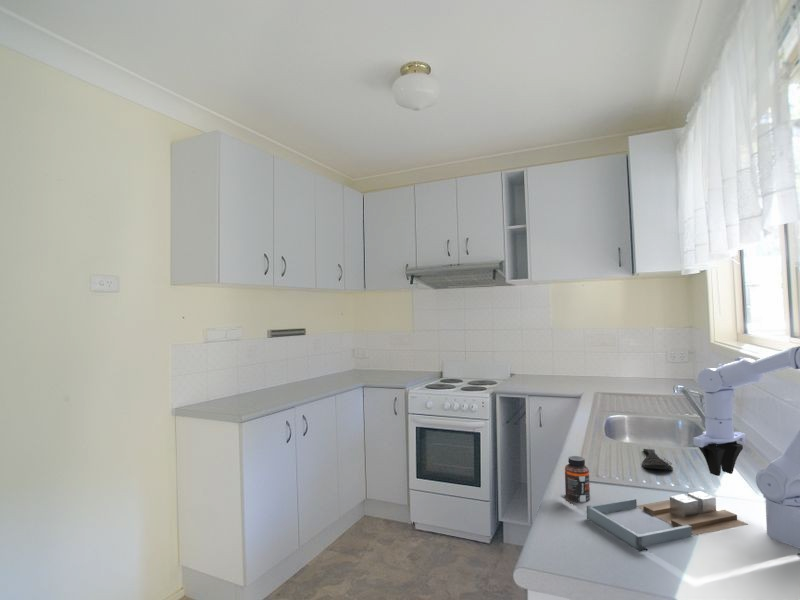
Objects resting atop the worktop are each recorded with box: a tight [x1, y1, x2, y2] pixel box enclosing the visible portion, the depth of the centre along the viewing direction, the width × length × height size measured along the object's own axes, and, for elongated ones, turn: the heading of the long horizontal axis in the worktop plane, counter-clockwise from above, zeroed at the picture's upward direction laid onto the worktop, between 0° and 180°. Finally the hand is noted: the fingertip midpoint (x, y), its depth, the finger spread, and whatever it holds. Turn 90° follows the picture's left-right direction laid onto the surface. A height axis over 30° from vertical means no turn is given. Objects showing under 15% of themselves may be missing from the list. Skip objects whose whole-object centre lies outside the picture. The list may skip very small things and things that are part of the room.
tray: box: [586, 497, 693, 553], centre depth 105 cm, size 16×14×3 cm
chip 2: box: [687, 490, 717, 515], centre depth 110 cm, size 4×4×4 cm
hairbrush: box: [641, 448, 674, 471], centre depth 150 cm, size 8×4×25 cm
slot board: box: [637, 499, 749, 536], centre depth 109 cm, size 16×16×2 cm
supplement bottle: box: [564, 455, 591, 504], centre depth 120 cm, size 6×6×11 cm
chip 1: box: [669, 493, 698, 518], centre depth 109 cm, size 4×4×4 cm
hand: (721, 473), depth 112 cm, fingers open, 3 cm apart
